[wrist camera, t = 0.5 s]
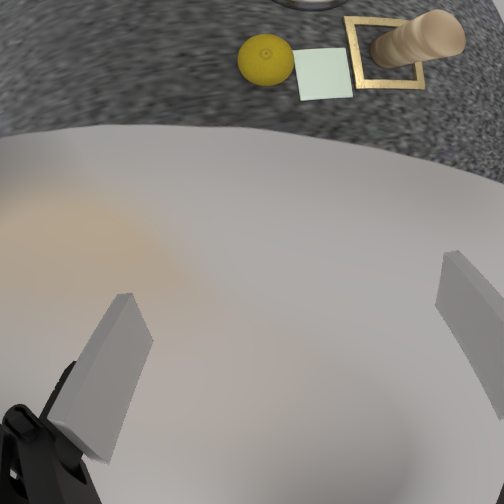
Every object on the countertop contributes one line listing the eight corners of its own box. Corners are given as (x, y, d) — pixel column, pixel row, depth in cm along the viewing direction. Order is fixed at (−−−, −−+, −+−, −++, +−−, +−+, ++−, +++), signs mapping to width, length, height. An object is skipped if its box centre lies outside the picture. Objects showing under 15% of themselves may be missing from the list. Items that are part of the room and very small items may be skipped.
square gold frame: (342, 18, 26) (343, 16, 25) (410, 22, 25) (413, 21, 24) (354, 88, 30) (356, 88, 29) (422, 89, 29) (425, 89, 28)
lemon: (236, 83, 30) (228, 76, 23) (246, 39, 28) (240, 20, 21) (285, 93, 31) (291, 88, 24) (295, 48, 28) (303, 32, 21)
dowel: (366, 37, 27) (420, 6, 14) (396, 38, 26) (460, 14, 14) (371, 68, 29) (430, 52, 16) (402, 69, 28) (469, 58, 16)
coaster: (292, 51, 28) (292, 50, 28) (344, 48, 28) (345, 47, 27) (300, 100, 31) (300, 100, 31) (351, 97, 30) (352, 97, 30)
